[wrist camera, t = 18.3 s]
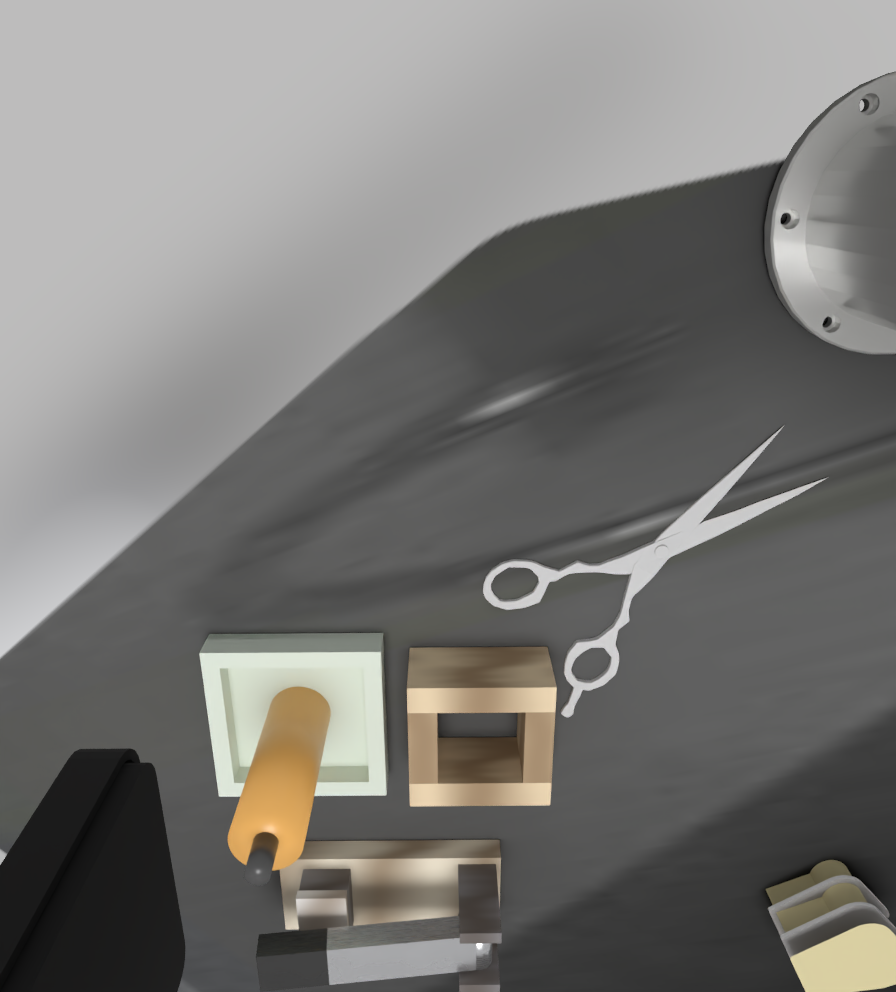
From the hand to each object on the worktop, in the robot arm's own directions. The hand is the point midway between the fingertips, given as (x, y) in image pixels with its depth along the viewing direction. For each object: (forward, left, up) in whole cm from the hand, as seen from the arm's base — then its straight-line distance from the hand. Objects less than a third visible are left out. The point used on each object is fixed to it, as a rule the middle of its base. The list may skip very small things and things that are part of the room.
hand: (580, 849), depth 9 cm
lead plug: (+10, +23, -33) cm, 41 cm away
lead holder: (0, +23, -33) cm, 40 cm away
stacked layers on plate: (-24, +38, -34) cm, 56 cm away
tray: (+10, +23, -33) cm, 41 cm away
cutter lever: (+6, +36, -28) cm, 46 cm away
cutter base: (+5, +36, -33) cm, 49 cm away
